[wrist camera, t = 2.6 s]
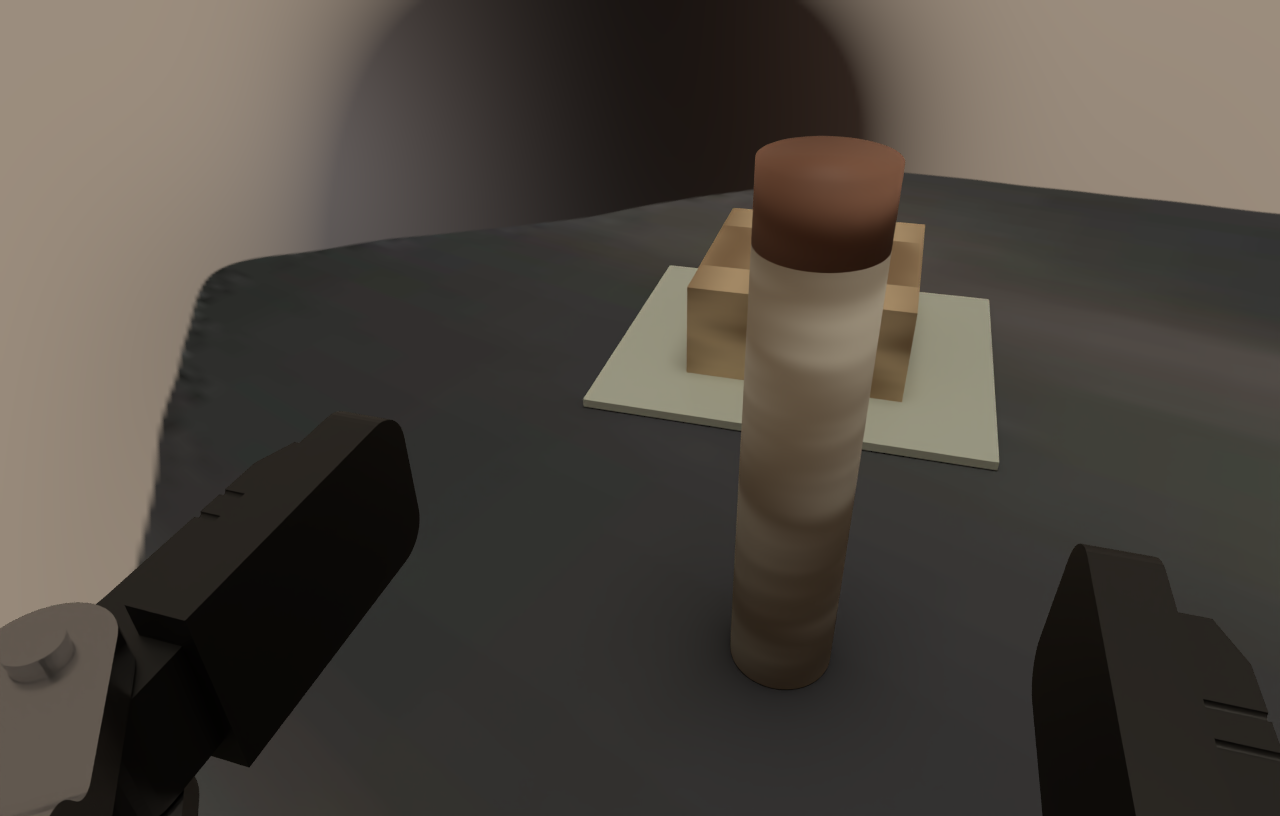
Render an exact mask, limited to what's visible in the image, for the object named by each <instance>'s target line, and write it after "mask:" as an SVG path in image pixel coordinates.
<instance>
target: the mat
mask: <svg viewBox="0 0 1280 816" xmlns="http://www.w3.org/2000/svg"><path fill="white" fill-rule="evenodd" d="M697 270H698V268H689V267H680V266H671V265H670V266H669V268H668V269H667V271H666V272H665V274H664V275H663V277H662V278H661V280H660V282H659V283H658V285H657V286H656V288H655V289H654V291H653V292H652V294H651V295H650V297H649V299H648V300H647V302H646V303H645V305H644V306H643V308H642V309H641V311H640V312H639V314H638V315H637V317H636V319H635V320H634V322H633V323H632V325H631V326H630V328H629V329H628V331H627V332H626V334H625V336H624V337H623V339H622V340H621V342H620V343H619V345H618V346H617V348H616V349H615V351H614V353H613V354H612V356H611V357H610V359H609V360H608V362H607V363H606V365H605V366H604V368H603V369H602V371H601V373H600V374H599V376H598V377H597V379H596V380H595V382H594V383H593V385H592V386H591V388H590V390H589V391H588V393H587V394H586V396H585V397H584V399H583V404H584V407H590V408H597V409H603V410H610V411H616V412H623V413H629V414H635V415H642V416H648V417H655V418H661V419H668V420H674V421H681V422H687V423H694V424H700V425H707V426H713V427H720V428H726V429H732V430H739V431H741V428H742V409H743V389H744V380H738V379H731V378H724V377H717V376H710V375H702V374H695V373H688V372H687V287H688V285H689V283H690V282H691V280H692V278H693V276H694V275H695V273H696V271H697ZM862 450H868V451H875V452H881V453H888V454H894V455H901V456H907V457H913V458H920V459H926V460H933V461H939V462H946V463H952V464H959V465H965V466H972V467H978V468H985V469H991V470H997V469H998V466H999V451H998V435H997V419H996V403H995V388H994V372H993V356H992V340H991V324H990V309H989V299H980V298H971V297H962V296H952V295H943V294H933V293H924V292H919V303H918V314H917V320H916V326H915V331H914V337H913V342H912V348H911V354H910V359H909V365H908V371H907V376H906V382H905V387H904V393H903V399H902V402H897V401H889V400H882V399H875V398H869V405H868V411H867V418H866V424H865V431H864V438H863V444H862Z"/></svg>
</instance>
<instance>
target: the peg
mask: <svg viewBox="0 0 1280 816" xmlns="http://www.w3.org/2000/svg"><path fill="white" fill-rule="evenodd" d="M904 167H905V159H904V157H903V156H902V155H901V154H900V153H899V152H897V151H896V150H894V149H892V148H890V147H888V146H885V145H882V144H879V143H876V142H872V141H867V140H862V139H856V138H848V137H836V136H809V137H798V138H791V139H785V140H781V141H777V142H774V143H771V144H768V145H766V146H764V147H762V148H761V149H760V150H759V151H758V152H757V154H756V158H755V179H754V197H753V216H752V235H751V254H750V274H749V293H748V312H747V331H746V351H745V370H744V389H743V409H742V428H741V447H740V466H739V486H738V505H737V524H736V543H735V563H734V582H733V601H732V620H731V640H730V649H731V654H732V658H733V660H734V662H735V664H736V665H737V667H738V668H739V669H740V670H741V671H742V672H743V673H744V674H745V675H746V676H747V677H749V678H750V679H751V680H753V681H755V682H757V683H759V684H761V685H764V686H767V687H770V688H775V689H797V688H801V687H805V686H807V685H809V684H811V683H813V682H815V681H816V680H817V679H819V678H820V677H821V676H822V675H823V674H824V672H825V671H826V669H827V667H828V665H829V661H830V655H831V649H832V642H833V636H834V629H835V622H836V616H837V609H838V603H839V596H840V589H841V583H842V576H843V570H844V563H845V556H846V550H847V543H848V537H849V530H850V523H851V517H852V510H853V504H854V497H855V490H856V484H857V477H858V471H859V464H860V457H861V451H862V444H863V438H864V431H865V424H866V418H867V411H868V405H869V398H870V391H871V385H872V378H873V371H874V365H875V358H876V352H877V345H878V338H879V332H880V325H881V319H882V312H883V305H884V299H885V292H886V286H887V279H888V272H889V266H890V259H891V253H892V246H893V239H894V233H895V226H896V220H897V213H898V206H899V200H900V193H901V187H902V180H903V173H904Z"/></svg>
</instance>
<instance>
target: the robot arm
mask: <svg viewBox="0 0 1280 816" xmlns="http://www.w3.org/2000/svg"><path fill="white" fill-rule="evenodd" d="M418 530H419V508H418V503H417V499H416V494H415V489H414V484H413V479H412V474H411V469H410V464H409V459H408V454H407V449H406V444H405V439H404V435H403V431H402V429H401V427H400V426H399V424H398V423H397V422H395V421H393V420H389V419H384V418H378V417H372V416H367V415H361V414H355V413H350V412H344V411H339V412H335V413H333V414H331V415H330V416H328V417H327V418H326V419H325V420H324V421H323V422H322V423H321V424H320V425H318V426H317V427H316V428H315V429H314V430H313V431H312V432H311V433H310V434H309V435H308V436H307V437H305V438H304V439H303V440H302V441H301V442H300V443H296V442H294V443H292V444H290V445H288V446H286V447H284V448H282V449H281V450H279V451H277V452H275V453H273V454H271V455H269V456H267V457H265V458H263V459H261V460H259V461H257V462H256V463H254V464H253V465H252V466H251V467H250V468H249V469H247V470H246V471H245V472H244V473H243V474H242V475H241V476H240V477H239V478H237V479H236V480H235V481H234V482H233V483H232V484H231V485H230V486H228V487H227V488H226V489H225V494H224V495H218V496H217V497H216V498H215V499H214V500H213V501H212V502H211V503H209V504H208V505H207V506H206V507H205V508H204V509H203V510H202V511H201V515H200V517H199V518H197V517H194V518H193V519H192V520H190V521H189V522H188V523H187V524H186V525H185V526H184V527H183V528H181V529H180V530H179V531H178V532H177V533H176V534H175V535H174V536H172V537H171V538H170V539H169V540H168V541H167V542H166V543H165V544H164V545H162V546H161V547H160V548H159V549H158V550H157V551H156V552H155V553H153V554H152V555H151V556H150V557H149V558H148V559H147V560H146V561H144V562H143V563H142V564H141V565H140V566H139V567H138V568H137V569H136V570H134V571H133V572H132V573H131V574H130V575H129V576H128V577H127V578H125V579H124V580H123V581H122V582H121V583H120V584H119V585H118V586H116V587H115V588H114V589H113V590H112V591H111V592H110V593H109V594H108V595H106V596H105V597H104V598H103V599H102V600H101V601H99V602H98V603H97V604H96V605H95V604H91V603H79V602H77V603H65V604H59V605H54V606H50V607H46V608H43V609H40V610H37V611H34V612H31V613H29V614H27V615H24V616H22V617H20V618H18V619H16V620H14V621H12V622H10V623H8V624H7V625H5V626H3V627H2V628H0V816H198V807H199V786H198V783H197V780H196V778H195V775H196V774H197V772H198V771H199V770H200V769H201V767H202V766H203V765H204V764H205V763H206V761H207V760H208V759H209V758H210V756H213V757H216V758H220V759H223V760H226V761H230V762H233V763H236V764H239V765H243V766H246V767H250V766H251V765H252V763H253V762H254V761H255V759H256V758H257V757H258V755H259V754H260V753H261V751H262V750H263V749H264V747H265V746H266V745H267V744H268V742H269V741H270V740H271V738H272V737H273V736H274V734H275V733H276V732H277V730H278V729H279V728H280V726H281V725H282V724H283V722H284V721H285V720H286V718H287V717H288V716H289V715H290V713H291V712H292V711H293V709H294V708H295V707H296V705H297V704H298V703H299V701H300V700H301V699H302V697H303V696H304V695H305V693H306V692H307V691H308V689H309V688H310V687H311V686H312V684H313V683H314V682H315V680H316V679H317V678H318V676H319V675H320V674H321V672H322V671H323V670H324V668H325V667H326V666H327V664H328V663H329V662H330V660H331V659H332V658H333V656H334V655H335V654H336V653H337V651H338V650H339V649H340V647H341V646H342V645H343V643H344V642H345V641H346V639H347V638H348V637H349V635H350V634H351V633H352V631H353V630H354V629H355V627H356V626H357V625H358V624H359V622H360V621H361V620H362V618H363V617H364V616H365V614H366V613H367V612H368V610H369V609H370V608H371V606H372V605H373V604H374V602H375V601H376V600H377V598H378V597H379V596H380V595H381V593H382V592H383V591H384V589H385V588H386V587H387V585H388V584H389V583H390V581H391V580H392V579H393V577H394V576H395V575H396V573H397V572H398V571H399V569H400V568H401V567H402V566H403V564H404V563H405V562H406V560H407V559H408V557H409V555H410V554H411V552H412V550H413V547H414V545H415V542H416V539H417V535H418ZM1032 704H1033V715H1034V726H1035V737H1036V748H1037V759H1038V770H1039V781H1040V792H1041V803H1042V814H1043V816H1280V744H1279V741H1278V738H1277V736H1276V733H1275V730H1274V727H1273V724H1272V722H1268V721H1267V715H1268V711H1267V708H1266V705H1265V702H1264V699H1263V697H1262V694H1261V691H1260V688H1259V686H1258V683H1257V680H1256V677H1255V674H1254V672H1253V669H1252V666H1251V664H1250V663H1249V662H1248V660H1247V659H1246V658H1245V657H1244V656H1243V655H1242V653H1241V652H1240V651H1239V650H1238V649H1237V647H1236V646H1235V645H1234V644H1233V643H1232V642H1231V640H1230V639H1229V638H1228V637H1227V636H1226V635H1225V633H1224V632H1223V631H1222V630H1221V629H1220V627H1219V626H1218V625H1217V624H1216V623H1215V622H1214V620H1213V619H1210V618H1204V617H1199V616H1194V615H1189V614H1183V613H1178V612H1177V608H1176V605H1175V601H1174V598H1173V594H1172V591H1171V587H1170V584H1169V581H1168V577H1167V574H1166V570H1165V568H1164V565H1163V563H1162V561H1161V560H1160V559H1159V558H1157V557H1153V556H1147V555H1141V554H1136V553H1130V552H1124V551H1119V550H1113V549H1107V548H1102V547H1096V546H1090V545H1085V544H1078V545H1076V546H1075V548H1074V549H1073V551H1072V552H1071V554H1070V557H1069V559H1068V562H1067V565H1066V567H1065V570H1064V573H1063V576H1062V579H1061V581H1060V584H1059V587H1058V590H1057V592H1056V595H1055V598H1054V601H1053V603H1052V606H1051V609H1050V612H1049V615H1048V617H1047V620H1046V623H1045V626H1044V628H1043V631H1042V634H1041V637H1040V640H1039V643H1038V646H1037V650H1036V655H1035V660H1034V667H1033V677H1032Z"/></svg>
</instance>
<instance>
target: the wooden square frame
mask: <svg viewBox="0 0 1280 816" xmlns="http://www.w3.org/2000/svg"><path fill="white" fill-rule="evenodd" d="M752 216H753V210H751V209H739V208H733V209H732V211H731V213H730V214H729V216H728V218H727V220H726V221H725V223H724V225H723V227H722V228H721V230H720V232H719V233H718V235H717V237H716V239H715V240H714V242H713V244H712V245H711V247H710V249H709V251H708V252H707V254H706V256H705V258H704V259H703V261H702V263H701V264H700V266H699V268H698V270H697V271H696V273H695V275H694V276H693V278H692V280H691V282H690V283H689V285H688V287H687V372H688V373H695V374H702V375H710V376H717V377H724V378H731V379H738V380H744V370H745V351H746V331H747V312H748V293H749V274H750V254H751V235H752ZM924 231H925V225H923V224H912V223H900V222H896V226H895V233H894V239H893V246H892V253H891V259H890V266H889V272H888V279H887V286H886V292H885V299H884V305H883V312H882V319H881V325H880V332H879V338H878V345H877V352H876V358H875V365H874V371H873V378H872V385H871V391H870V398H875V399H882V400H889V401H897V402H902V399H903V393H904V387H905V382H906V376H907V371H908V365H909V359H910V354H911V348H912V342H913V337H914V331H915V326H916V320H917V314H918V303H919V291H920V279H921V267H922V255H923V243H924Z"/></svg>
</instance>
